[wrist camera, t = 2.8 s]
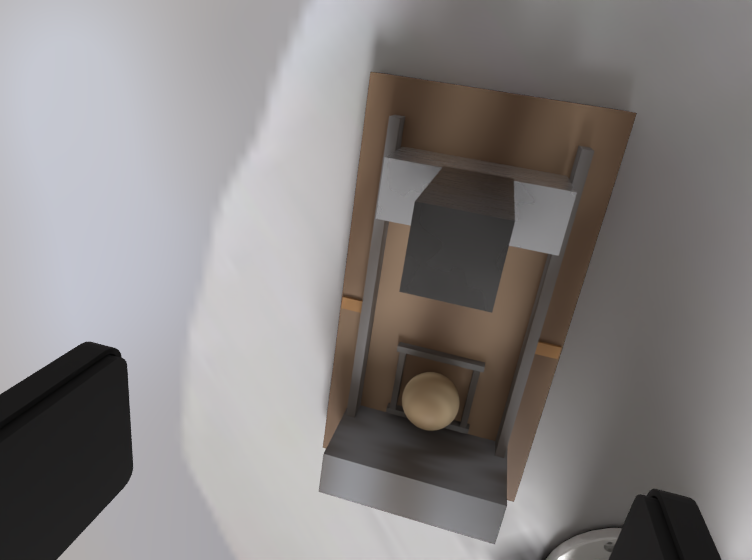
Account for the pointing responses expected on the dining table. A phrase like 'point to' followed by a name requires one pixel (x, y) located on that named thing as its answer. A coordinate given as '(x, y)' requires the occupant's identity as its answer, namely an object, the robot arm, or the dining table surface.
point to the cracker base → (458, 309)
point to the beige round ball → (430, 401)
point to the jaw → (469, 220)
